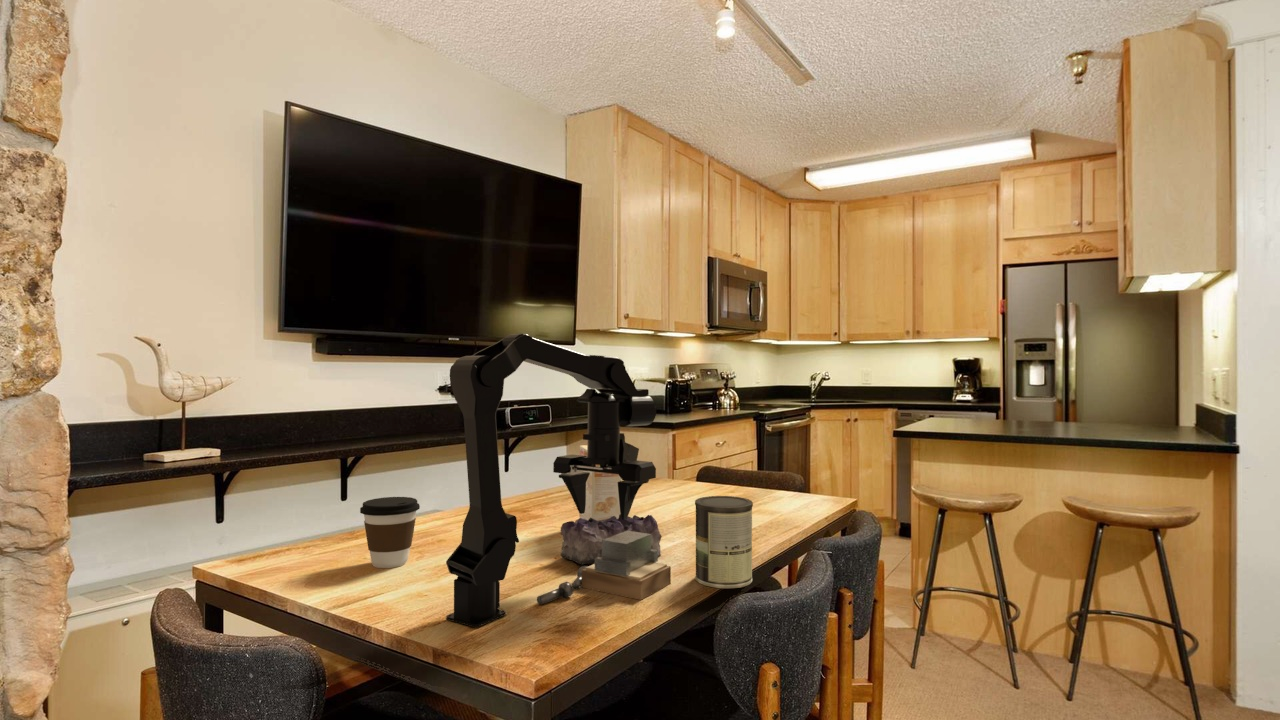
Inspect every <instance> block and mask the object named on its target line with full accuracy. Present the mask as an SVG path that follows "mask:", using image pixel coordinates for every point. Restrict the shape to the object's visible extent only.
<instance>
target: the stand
mask: <svg viewBox="0 0 1280 720" xmlns="http://www.w3.org/2000/svg"><path fill="white" fill-rule="evenodd" d="M587 566H588V565H587ZM671 568H672V566H671V565H670V566H669V565H667V563H659V562H655V563H652V562H651V563H648V564H646V565H644V566H642V567H640V568H638V569H636V570H634V571H632V572H630V575H628V576H622V575H616V574H611V573H606V572H601V571H595V563H592V564H591V565H590V564H589V566H588V567H586V568H585V569H583V570H582V585H581V588H583V589H588V590H591V591H597V592H602V593H606V594H612V595H616V596H621V597H626V598H630V599H635V600H640V601H641V600H643V599H645V598H648V597H649V596H650V595H653V594H654V593H656V592H658V591H660V590H662V589H663V588H665V587H667V586H669V585H671V582H672V581H671V578H672V577H671V576H672V575H671Z"/></svg>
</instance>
